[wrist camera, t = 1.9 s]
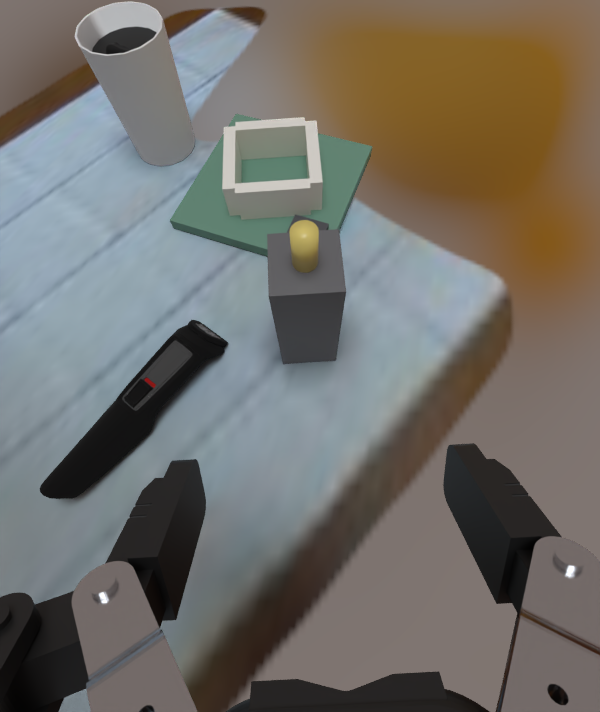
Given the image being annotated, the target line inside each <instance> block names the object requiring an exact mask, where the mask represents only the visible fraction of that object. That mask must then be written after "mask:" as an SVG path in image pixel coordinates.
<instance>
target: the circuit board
mask: <svg viewBox="0 0 600 712" xmlns="http://www.w3.org/2000/svg"><path fill="white" fill-rule="evenodd" d="M259 120H260V119H256V118H252V117H247V116H243V115H239V114H236V115H235V116H234V118H233V120H232V121H231V123H230V125H229V126H228V127H231V126H235V122H245V121H259ZM318 141H319V151H320V161H321V171H322V181H323V188H322V210H311V215H304V216H299V215H296V214H295V216H289V217H274V218H259V219H245V220H241V216H240V215H236V216H230V214H229V211H228V207H227V204H226V200H225V197H224V193H223V190H222V181H223V142H224V134H223V136H222V137H221V139H220V141H219V142H218V144H217V145H216V147H215V149H214V150H213V152H212V153H211V155H210V157H209V158H208V160H207V161H206V163H205V165H204V166H203V168H202V170H201V171H200V173H199V174H198V176H197V178H196V179H195V181H194V182H193V184H192V186H191V187H190V189H189V190H188V192H187V194H186V195H185V197H184V199H183V200H182V202H181V203H180V205H179V207H178V208H177V210H176V211H175V213H174V215H173V216H172V218H171V219H170V222H171V224H172V226H173V228H175V229H178V230H181V231H185V232H188V233H191V234H195V235H198V236H201V237H205V238H208V239H211V240H215V241H218V242H221V243H225V244H228V245H231V246H234V247H238V248H241V249H244V250H248V251H251V252H254V253H258V254H261V255H264V256H268V250H267V234H274V233H289V231H290V228H291V226H292V225H293V224H294V223H295V222H297V221H300V220H308V221H311V222H313V223H315V224H316V225H317V227H318V230H334V229H339V230H340V228H341V225H342V223H343V220H344V218H345V216H346V213H347V211H348V209H349V206H350V204H351V201H352V199H353V197H354V194H355V192H356V190H357V187H358V185H359V182H360V180H361V178H362V175H363V173H364V171H365V168H366V166H367V163H368V161H369V159H370V156H371V151H372V146H368V145H364V144H360V143H356V142H352V141H347V140H343V139H339V138H335V137H331V136H327V135H323V134H318ZM294 179H308V175H307V163H306V155H304V156H290V157H275V158H261V159H247V160H242V175H241V183H250V182H265V181H279V180H294Z"/></svg>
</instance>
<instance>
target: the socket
mask: <svg viewBox="0 0 600 712" xmlns="http://www.w3.org/2000/svg"><path fill="white" fill-rule="evenodd" d="M317 132H318V131H317V122H316V121H305V118H304V117H301V118H287V119H274V120H259V121H245V122H235V126H231V127H224V142H223V181H222V190H223V193H224V197H225V200H226V204H227V207H228V211H229V214H230V216H236V215H240V216H241V220H245V219H259V218H274V217H289V216H295V214H296V215H299V216H304V215H311V210H322V188H323V181H322V171H321V161H320V151H319V141H318V133H317ZM304 155H306V163H307V175H308V179H294V180H279V181H265V182H250V183H241V175H242V160H247V159H261V158H275V157H290V156H304Z"/></svg>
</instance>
